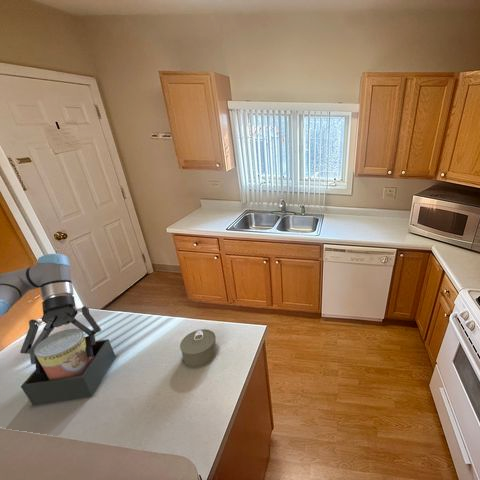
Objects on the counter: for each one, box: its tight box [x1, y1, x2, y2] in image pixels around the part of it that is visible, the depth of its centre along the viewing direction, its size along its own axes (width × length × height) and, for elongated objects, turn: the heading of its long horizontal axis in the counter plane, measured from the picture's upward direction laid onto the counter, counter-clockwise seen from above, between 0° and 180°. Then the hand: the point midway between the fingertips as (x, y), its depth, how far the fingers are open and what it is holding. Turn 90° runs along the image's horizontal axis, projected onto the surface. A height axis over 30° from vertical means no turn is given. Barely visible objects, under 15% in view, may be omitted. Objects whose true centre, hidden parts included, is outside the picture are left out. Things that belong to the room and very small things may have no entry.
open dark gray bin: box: [20, 338, 117, 406], centre depth 84 cm, size 15×15×9 cm
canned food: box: [34, 328, 94, 380], centre depth 81 cm, size 11×11×12 cm
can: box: [179, 328, 218, 368], centre depth 95 cm, size 12×12×7 cm
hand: (66, 364), depth 80 cm, fingers closed on canned food, 11 cm apart
